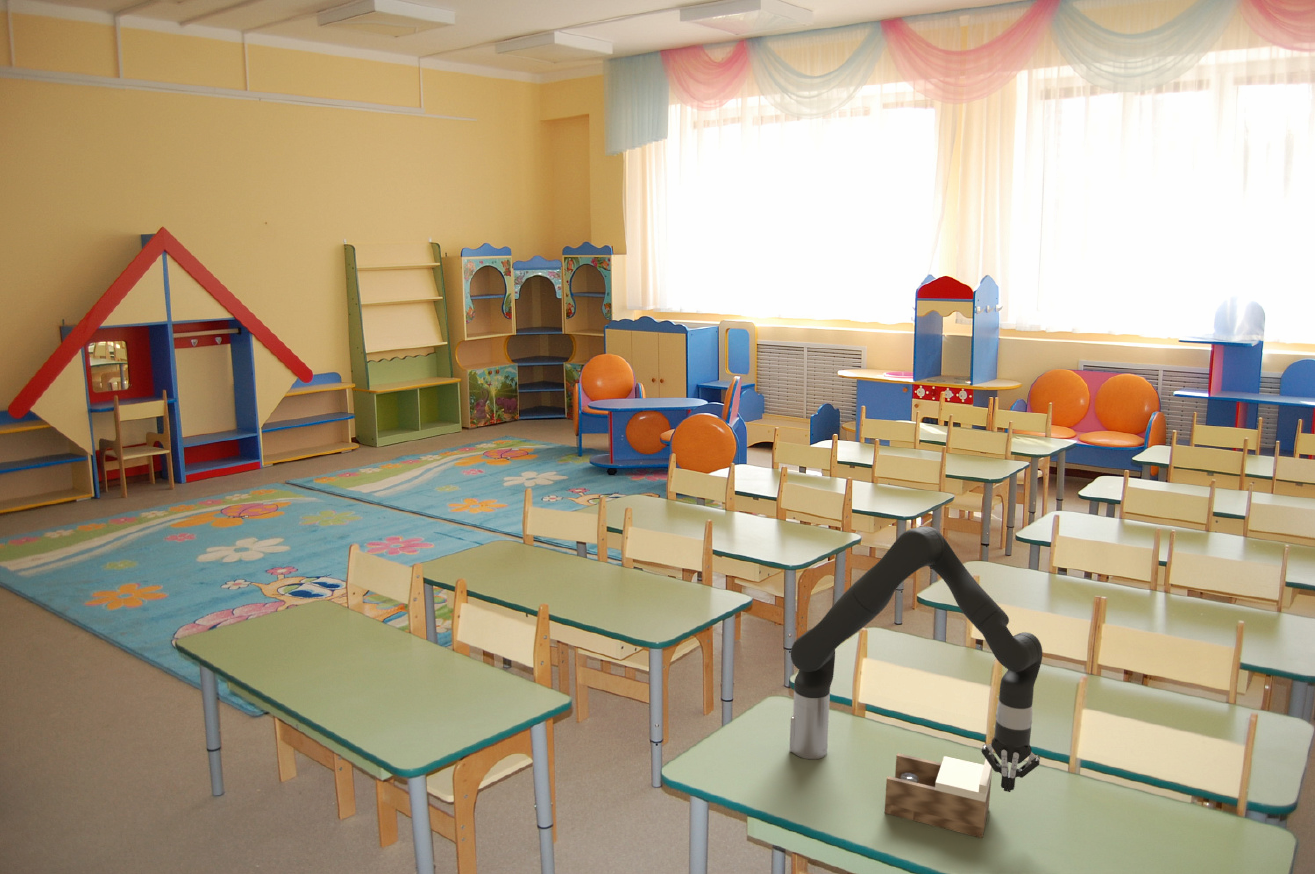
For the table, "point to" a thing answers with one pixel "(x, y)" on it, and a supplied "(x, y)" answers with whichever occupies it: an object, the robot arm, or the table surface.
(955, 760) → the lid
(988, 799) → the box
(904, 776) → the silver metal cylinder
